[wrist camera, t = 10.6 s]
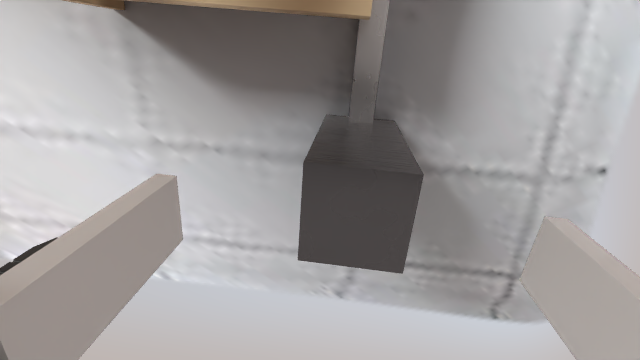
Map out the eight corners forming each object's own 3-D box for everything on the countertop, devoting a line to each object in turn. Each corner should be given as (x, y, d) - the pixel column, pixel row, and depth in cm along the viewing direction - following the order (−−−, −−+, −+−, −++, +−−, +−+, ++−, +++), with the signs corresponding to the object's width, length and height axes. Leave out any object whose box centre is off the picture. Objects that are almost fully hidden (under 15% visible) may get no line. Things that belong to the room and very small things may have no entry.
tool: (321, 177, 23) (297, 260, 14) (354, -220, 15) (350, -622, 6) (384, 183, 23) (402, 273, 14) (449, -217, 15) (595, -637, 6)
